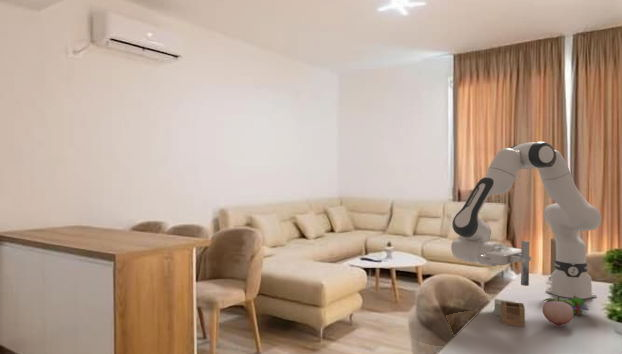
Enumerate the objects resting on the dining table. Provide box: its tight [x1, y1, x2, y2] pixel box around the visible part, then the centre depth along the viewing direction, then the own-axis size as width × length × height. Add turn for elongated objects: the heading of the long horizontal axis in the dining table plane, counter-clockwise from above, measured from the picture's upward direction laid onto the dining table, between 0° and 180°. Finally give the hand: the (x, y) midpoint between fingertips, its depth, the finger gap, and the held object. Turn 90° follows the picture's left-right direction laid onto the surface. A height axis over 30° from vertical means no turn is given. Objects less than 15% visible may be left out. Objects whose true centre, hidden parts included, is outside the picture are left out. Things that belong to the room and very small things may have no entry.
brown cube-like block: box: [500, 301, 526, 328], centre depth 149 cm, size 7×7×6 cm
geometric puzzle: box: [568, 296, 589, 318], centre depth 158 cm, size 7×7×8 cm
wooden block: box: [549, 237, 556, 276], centre depth 213 cm, size 10×10×20 cm
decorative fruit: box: [542, 295, 575, 327], centre depth 145 cm, size 9×8×10 cm
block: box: [494, 298, 516, 317], centre depth 159 cm, size 7×7×4 cm
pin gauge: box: [520, 240, 530, 287], centre depth 160 cm, size 3×3×16 cm
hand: (527, 259), depth 159 cm, fingers closed on pin gauge, 3 cm apart
